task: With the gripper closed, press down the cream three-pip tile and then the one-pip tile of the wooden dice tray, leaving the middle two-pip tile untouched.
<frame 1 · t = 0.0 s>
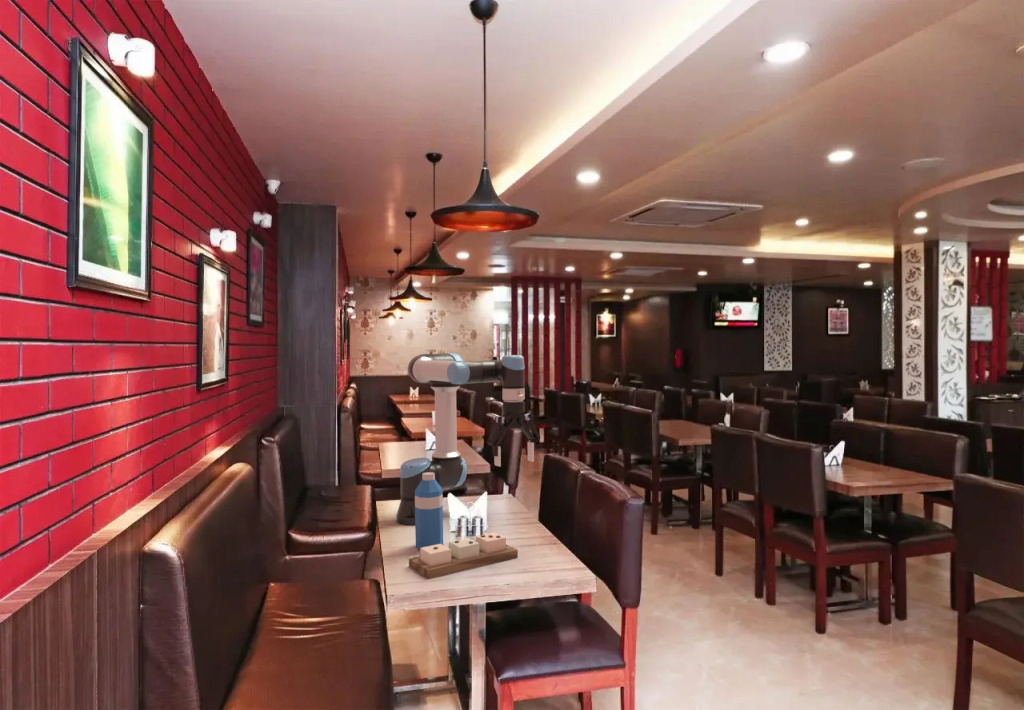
hand: (514, 463, 222), 28 cm above the table, fingers open, 13 cm apart
tile two: (464, 548, 207), point 4 cm above the table, slide at 0.0 cm
wooden dice tray: (464, 561, 207), on the table
tile three: (490, 542, 212), point 4 cm above the table, slide at 0.0 cm
water bottle: (429, 547, 222), on the table
tile one: (435, 554, 201), point 4 cm above the table, slide at 0.0 cm
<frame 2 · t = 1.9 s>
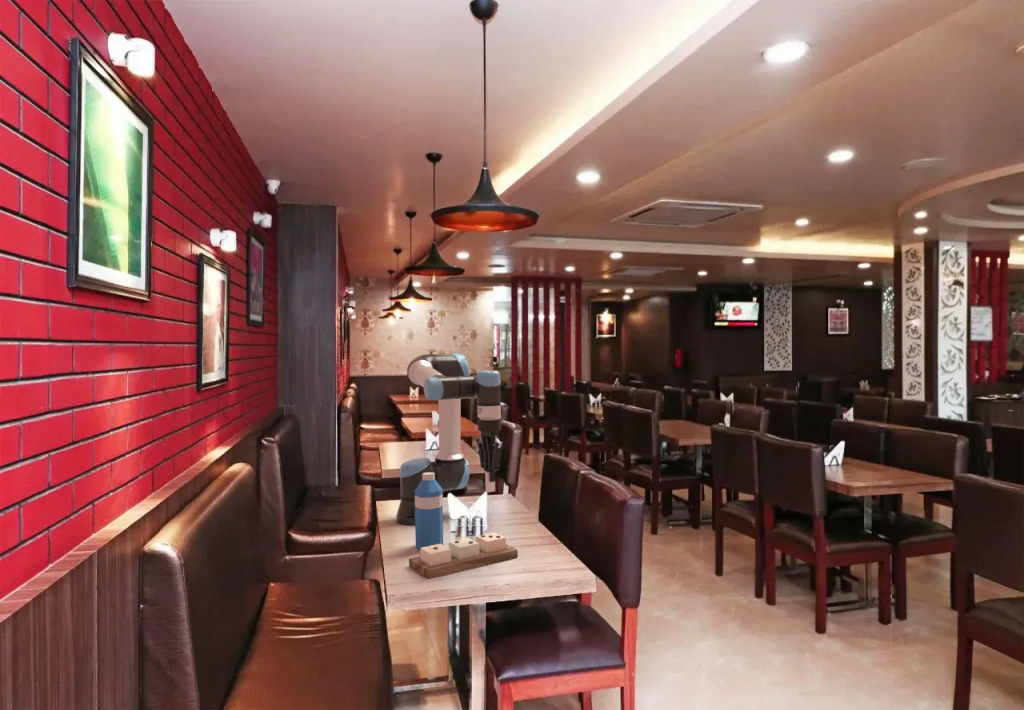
hand: (490, 491, 212), 21 cm above the table, fingers closed
nothing on the table moved.
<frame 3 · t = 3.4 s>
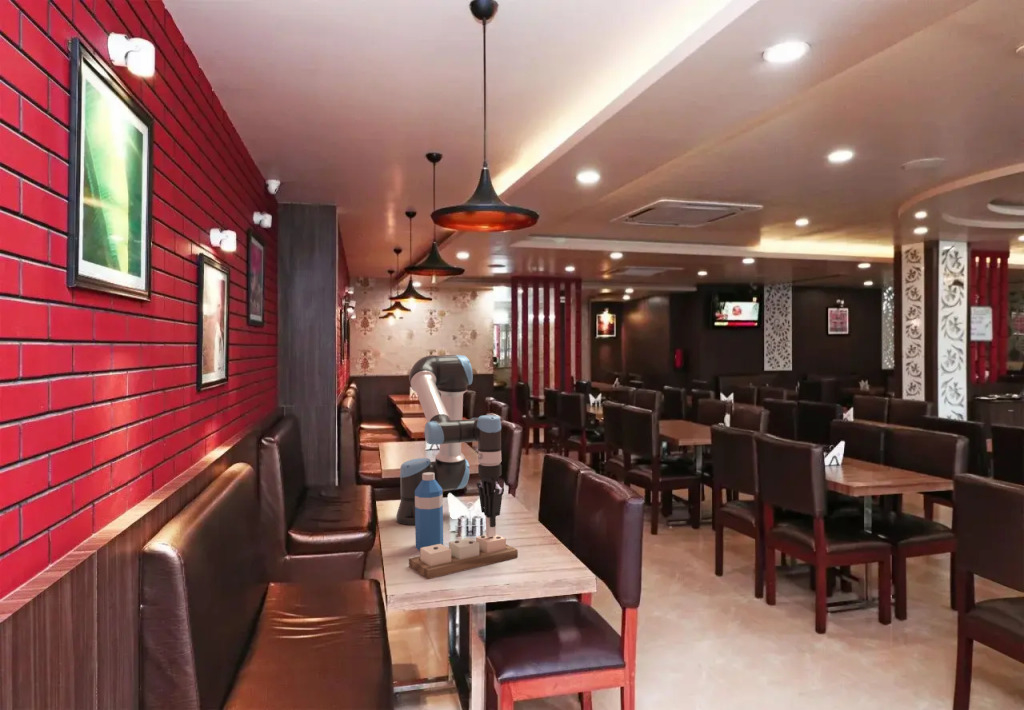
hand: (490, 536, 212), 6 cm above the table, fingers closed
tile three: (490, 543, 212), point 4 cm above the table, slide at 0.3 cm, touching gripper
everything else where it was.
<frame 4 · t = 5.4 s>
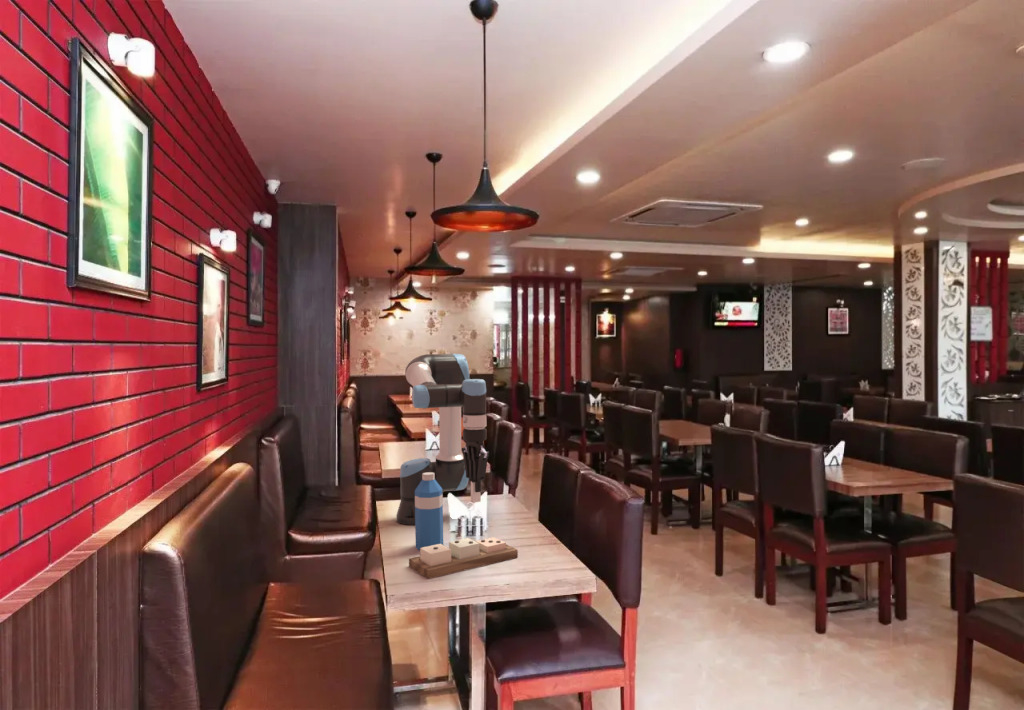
hand: (475, 501, 209), 18 cm above the table, fingers closed
tile three: (490, 547, 212), point 3 cm above the table, slide at 1.6 cm
everything else where it was.
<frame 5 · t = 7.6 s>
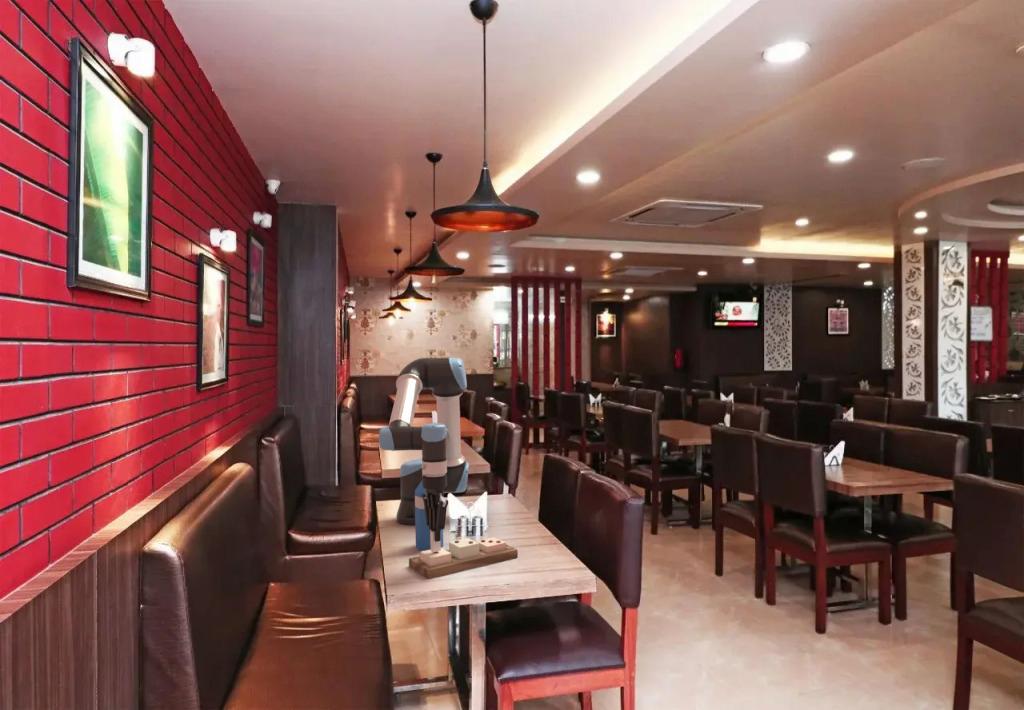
hand: (435, 550, 201), 5 cm above the table, fingers closed
tile one: (435, 558, 201), point 3 cm above the table, slide at 1.2 cm, touching gripper
everything else where it was.
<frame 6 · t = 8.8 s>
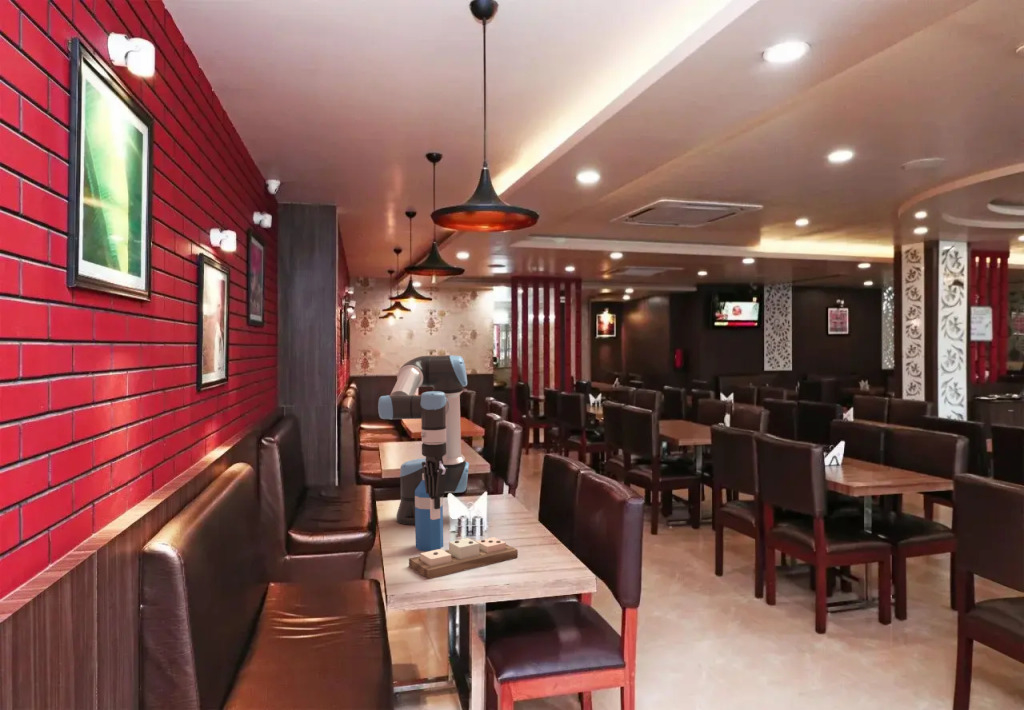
hand: (435, 518, 201), 15 cm above the table, fingers closed
tile one: (435, 559, 201), point 3 cm above the table, slide at 1.6 cm
everything else where it was.
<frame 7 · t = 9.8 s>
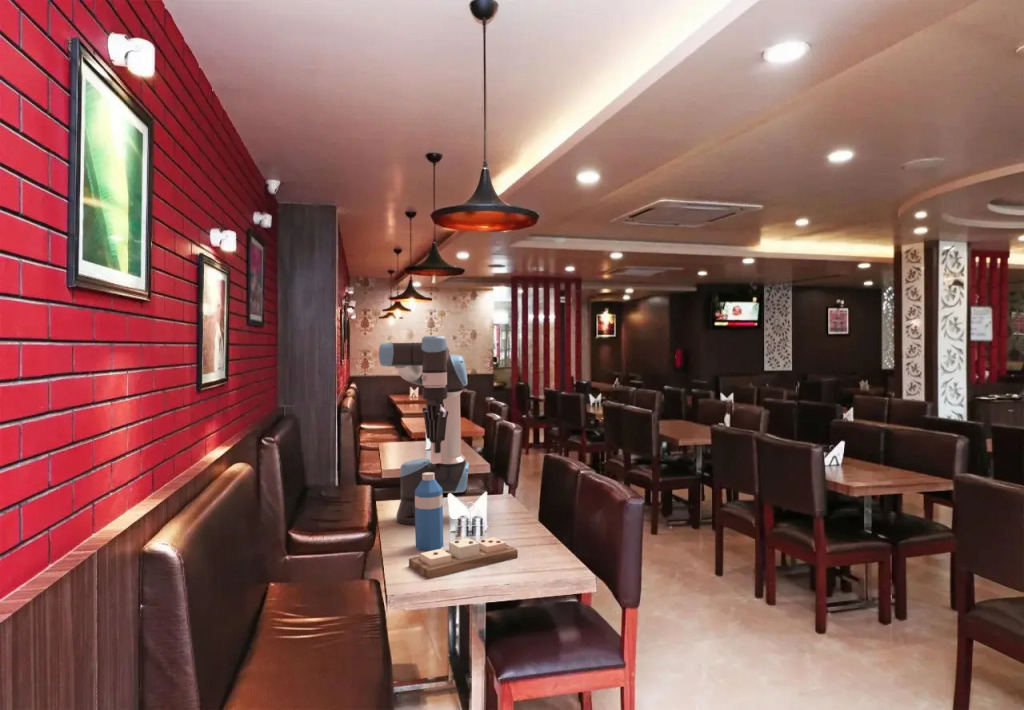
hand: (435, 463, 201), 32 cm above the table, fingers closed
nothing on the table moved.
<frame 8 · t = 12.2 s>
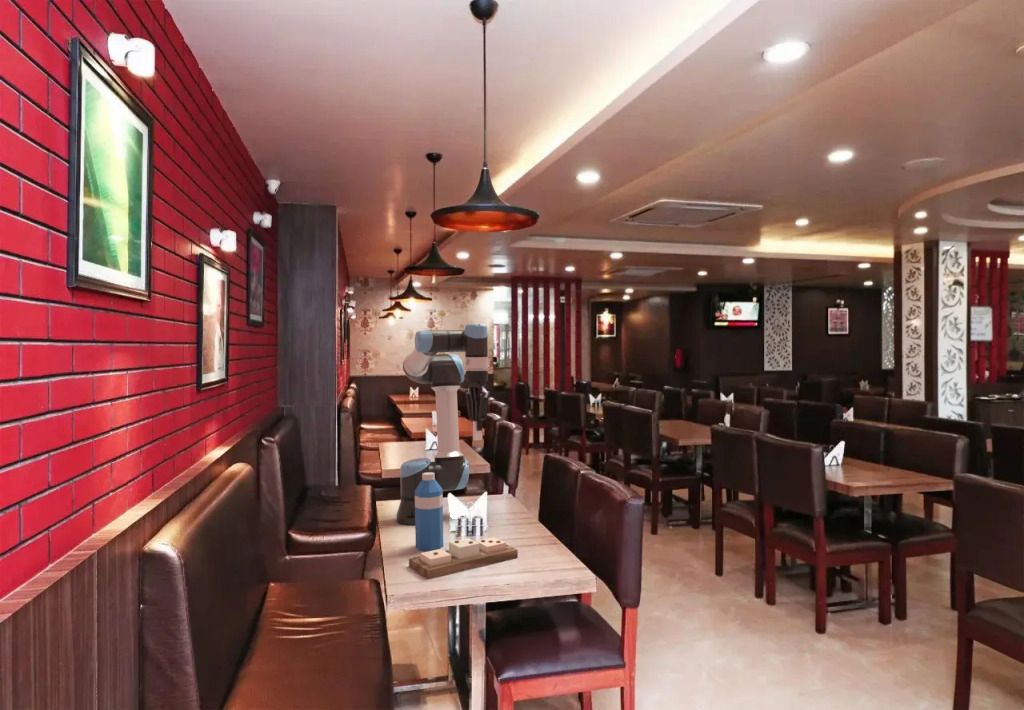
hand: (477, 440, 219), 36 cm above the table, fingers closed
nothing on the table moved.
at the end: tile three slide at 1.6 cm; tile one slide at 1.6 cm; tile two slide at 0.0 cm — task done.
